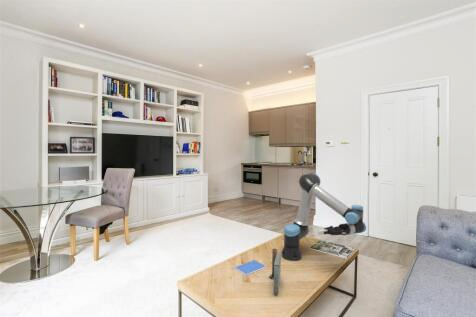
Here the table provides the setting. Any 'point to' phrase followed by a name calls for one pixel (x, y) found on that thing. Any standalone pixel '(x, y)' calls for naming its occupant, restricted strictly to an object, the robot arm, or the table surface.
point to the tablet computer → (250, 267)
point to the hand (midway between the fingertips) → (319, 232)
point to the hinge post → (273, 262)
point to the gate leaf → (277, 272)
